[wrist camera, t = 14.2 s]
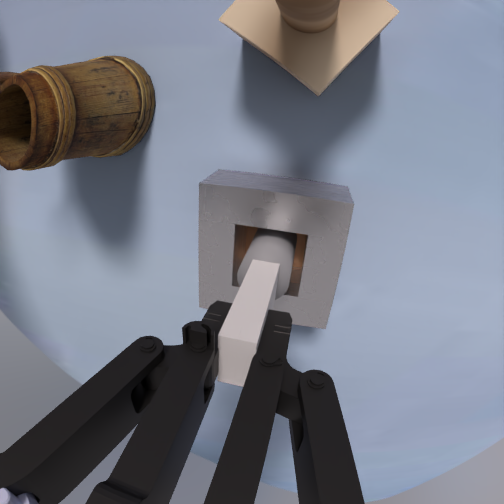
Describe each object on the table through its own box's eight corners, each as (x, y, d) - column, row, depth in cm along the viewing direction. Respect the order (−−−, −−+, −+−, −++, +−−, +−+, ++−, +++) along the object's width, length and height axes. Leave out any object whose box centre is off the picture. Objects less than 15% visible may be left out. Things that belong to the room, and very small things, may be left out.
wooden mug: (81, 17, 20) (-91, 9, 4) (175, 95, 22) (-37, 123, 6) (37, 92, 24) (-118, 131, 8) (116, 175, 26) (-55, 273, 10)
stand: (242, 38, 19) (183, -5, 10) (303, -25, 16) (288, -104, 7) (318, 96, 20) (319, 88, 11) (380, 32, 17) (426, -18, 8)
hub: (217, 228, 26) (180, 277, 19) (274, 163, 23) (254, 191, 16) (283, 283, 28) (269, 346, 20) (344, 226, 24) (353, 279, 17)
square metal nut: (215, 279, 26) (199, 307, 23) (218, 169, 22) (199, 182, 19) (325, 297, 25) (325, 329, 21) (348, 186, 21) (353, 203, 17)
